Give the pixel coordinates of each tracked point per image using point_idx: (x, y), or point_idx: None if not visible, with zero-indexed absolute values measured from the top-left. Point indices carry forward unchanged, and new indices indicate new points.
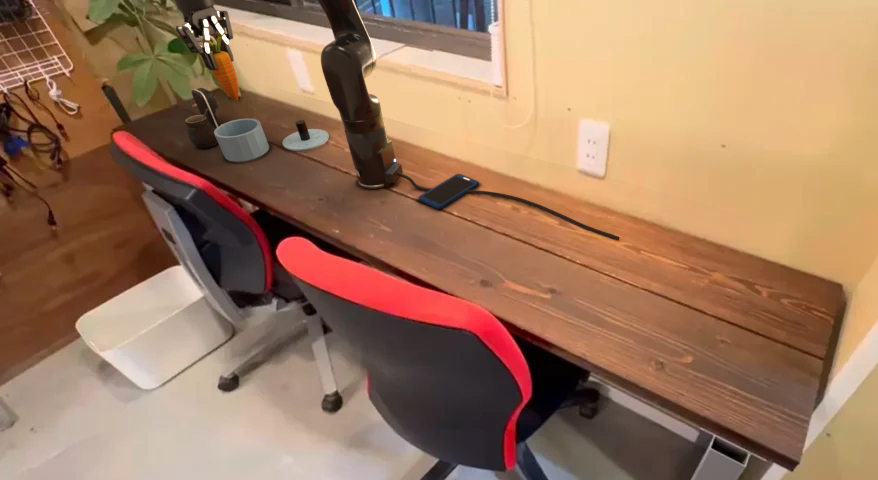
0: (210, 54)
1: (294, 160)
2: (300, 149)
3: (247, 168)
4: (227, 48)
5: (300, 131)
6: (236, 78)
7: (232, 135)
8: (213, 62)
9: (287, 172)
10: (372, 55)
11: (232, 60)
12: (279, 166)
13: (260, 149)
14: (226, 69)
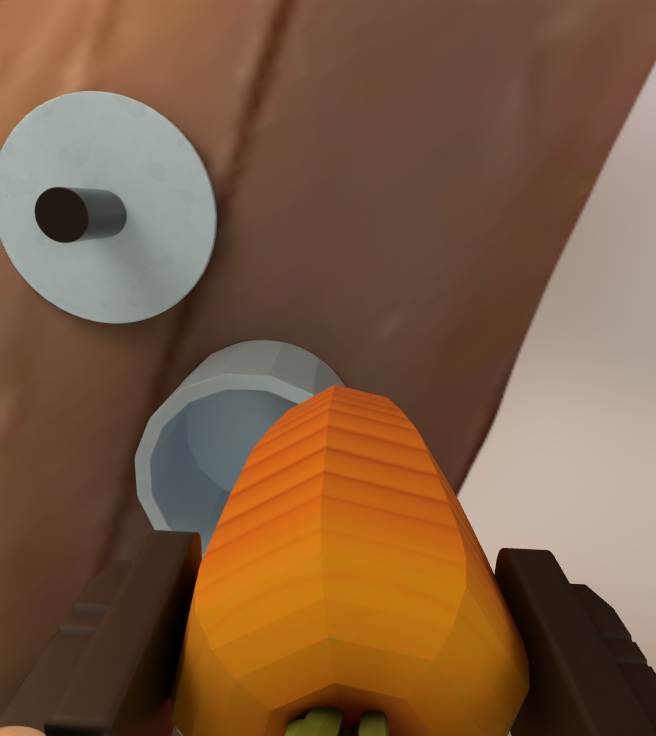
0: (624, 733)
1: (286, 169)
2: (207, 177)
3: (389, 346)
4: (114, 675)
5: (106, 211)
6: (290, 419)
7: None
8: (574, 613)
9: (397, 134)
10: None
11: (179, 532)
12: (351, 210)
13: (279, 348)
14: (417, 465)
